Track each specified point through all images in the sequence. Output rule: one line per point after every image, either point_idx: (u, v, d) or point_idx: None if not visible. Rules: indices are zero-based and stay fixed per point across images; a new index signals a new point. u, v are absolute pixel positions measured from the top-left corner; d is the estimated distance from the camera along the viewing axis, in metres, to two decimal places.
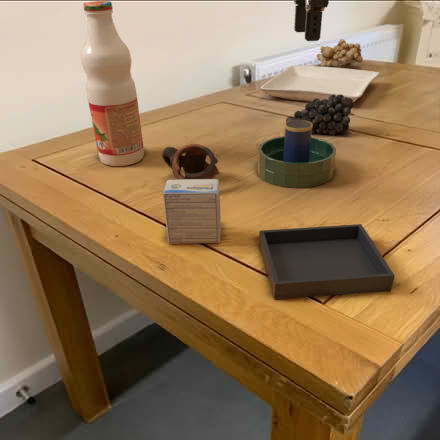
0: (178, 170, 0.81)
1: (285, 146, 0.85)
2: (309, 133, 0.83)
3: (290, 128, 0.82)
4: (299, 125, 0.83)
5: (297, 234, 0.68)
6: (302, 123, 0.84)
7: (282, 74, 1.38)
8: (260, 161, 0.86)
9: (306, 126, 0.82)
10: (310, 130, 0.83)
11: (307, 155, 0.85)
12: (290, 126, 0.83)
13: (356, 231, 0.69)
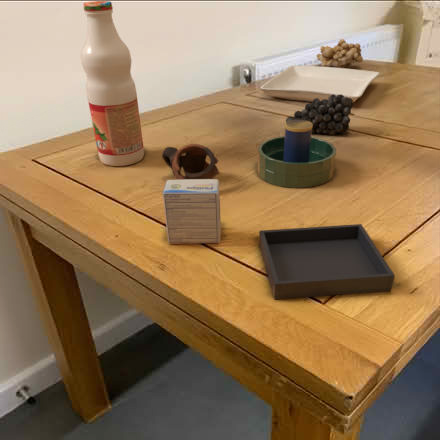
0: (178, 170, 0.81)
1: (285, 146, 0.85)
2: (309, 133, 0.83)
3: (290, 128, 0.82)
4: (299, 125, 0.83)
5: (297, 234, 0.68)
6: (302, 123, 0.84)
7: (282, 74, 1.38)
8: (260, 161, 0.86)
9: (306, 126, 0.82)
10: (310, 130, 0.83)
11: (307, 155, 0.85)
12: (290, 126, 0.83)
13: (356, 231, 0.69)
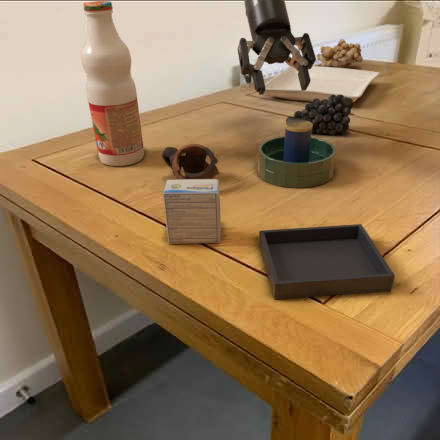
0: (178, 170, 0.81)
1: (285, 146, 0.85)
2: (309, 133, 0.83)
3: (290, 128, 0.82)
4: (299, 125, 0.83)
5: (297, 234, 0.68)
6: (302, 123, 0.84)
7: (282, 74, 1.38)
8: (260, 161, 0.86)
9: (306, 126, 0.82)
10: (310, 130, 0.83)
11: (307, 155, 0.85)
12: (290, 126, 0.83)
13: (356, 231, 0.69)
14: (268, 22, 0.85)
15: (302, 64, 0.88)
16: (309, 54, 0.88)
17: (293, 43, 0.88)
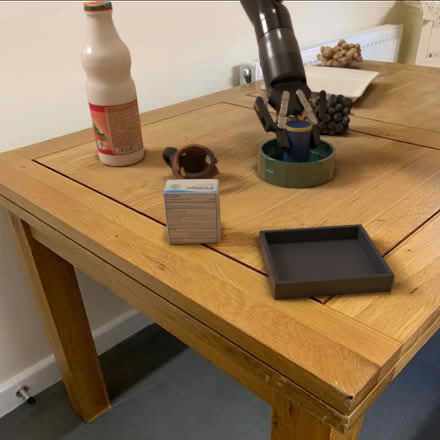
0: (178, 170, 0.81)
1: None
2: (309, 133, 0.83)
3: (290, 128, 0.82)
4: (299, 125, 0.83)
5: (297, 234, 0.68)
6: (302, 123, 0.84)
7: None
8: (260, 161, 0.86)
9: (306, 126, 0.82)
10: (310, 130, 0.83)
11: (307, 155, 0.85)
12: (289, 126, 0.83)
13: (356, 231, 0.69)
14: (284, 76, 0.83)
15: (312, 123, 0.84)
16: (320, 112, 0.85)
17: (308, 96, 0.85)
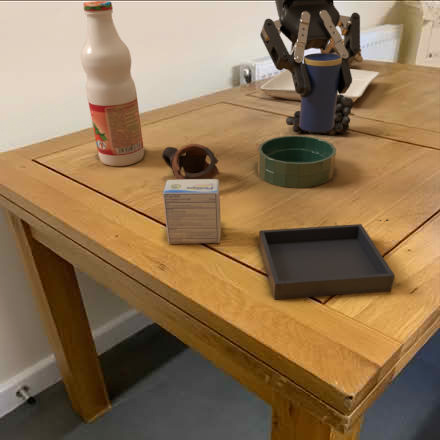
0: (178, 170, 0.81)
1: None
2: (337, 69, 0.60)
3: (311, 61, 0.60)
4: (323, 58, 0.60)
5: (297, 234, 0.68)
6: (327, 56, 0.61)
7: (282, 74, 1.38)
8: (260, 161, 0.86)
9: (333, 58, 0.60)
10: (339, 64, 0.60)
11: (334, 101, 0.63)
12: (310, 59, 0.60)
13: (356, 231, 0.69)
14: None
15: None
16: (352, 41, 0.62)
17: (335, 21, 0.62)
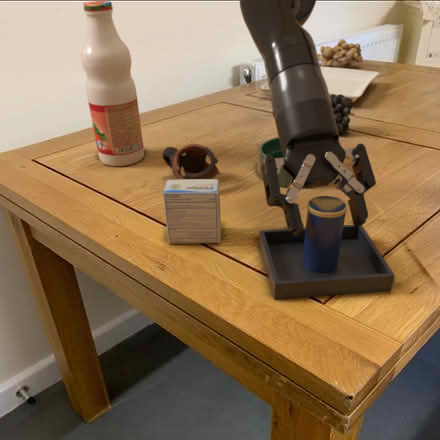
0: (178, 170, 0.81)
1: (307, 233, 0.61)
2: (342, 218, 0.58)
3: (315, 212, 0.58)
4: (328, 207, 0.58)
5: None
6: (332, 203, 0.59)
7: None
8: (260, 161, 0.86)
9: (338, 209, 0.58)
10: (344, 214, 0.58)
11: (338, 245, 0.61)
12: (315, 208, 0.58)
13: (356, 231, 0.69)
14: (308, 134, 0.58)
15: (356, 191, 0.60)
16: (366, 175, 0.60)
17: (342, 159, 0.60)
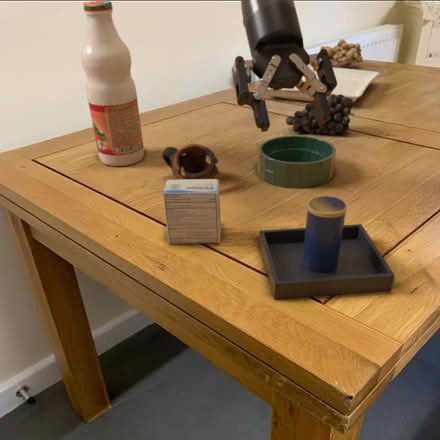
0: (178, 170, 0.81)
1: (307, 233, 0.61)
2: (342, 218, 0.58)
3: (315, 212, 0.58)
4: (328, 207, 0.58)
5: (297, 234, 0.68)
6: (332, 203, 0.59)
7: None
8: (260, 161, 0.86)
9: (338, 209, 0.58)
10: (344, 214, 0.58)
11: (338, 245, 0.61)
12: (315, 208, 0.58)
13: (356, 231, 0.69)
14: (273, 36, 0.63)
15: (319, 91, 0.65)
16: (328, 77, 0.66)
17: (307, 62, 0.66)
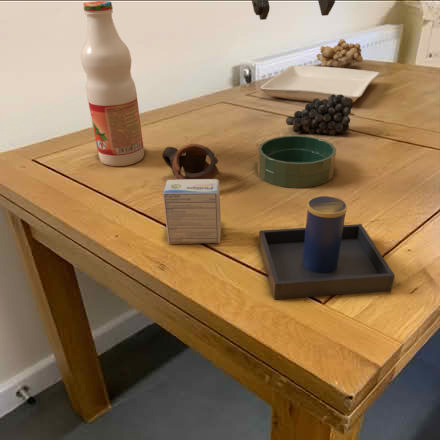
0: (178, 170, 0.81)
1: (307, 233, 0.61)
2: (342, 218, 0.58)
3: (315, 212, 0.58)
4: (328, 207, 0.58)
5: (297, 234, 0.68)
6: (332, 203, 0.59)
7: (282, 74, 1.38)
8: (260, 161, 0.86)
9: (338, 209, 0.58)
10: (344, 214, 0.58)
11: (338, 245, 0.61)
12: (315, 208, 0.58)
13: (356, 231, 0.69)
14: None
15: None
16: None
17: None
